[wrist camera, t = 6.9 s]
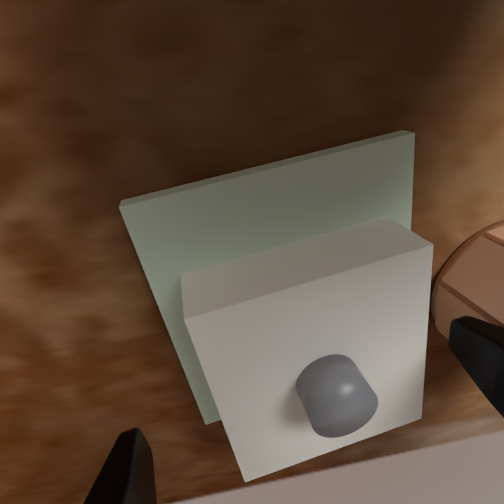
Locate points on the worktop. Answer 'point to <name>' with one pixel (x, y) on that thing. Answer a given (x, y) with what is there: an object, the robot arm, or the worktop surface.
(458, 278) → the bowl
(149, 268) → the mat
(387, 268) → the cover
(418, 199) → the worktop surface
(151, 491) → the robot arm
